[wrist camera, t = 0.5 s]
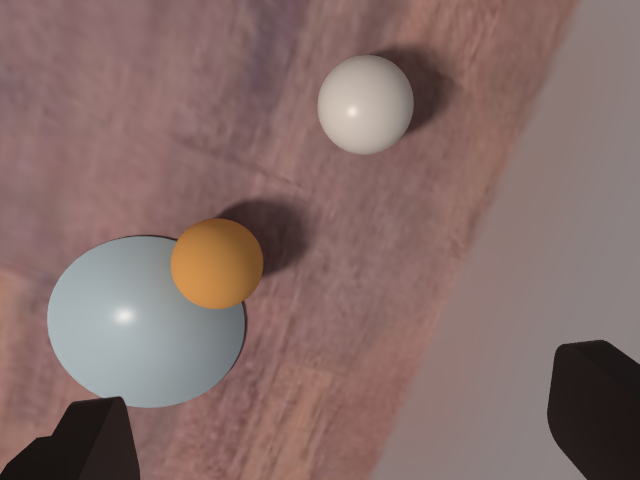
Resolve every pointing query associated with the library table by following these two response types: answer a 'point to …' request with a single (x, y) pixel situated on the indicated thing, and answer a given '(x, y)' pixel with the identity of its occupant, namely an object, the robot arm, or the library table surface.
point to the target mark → (139, 326)
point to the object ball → (217, 263)
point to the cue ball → (365, 104)
